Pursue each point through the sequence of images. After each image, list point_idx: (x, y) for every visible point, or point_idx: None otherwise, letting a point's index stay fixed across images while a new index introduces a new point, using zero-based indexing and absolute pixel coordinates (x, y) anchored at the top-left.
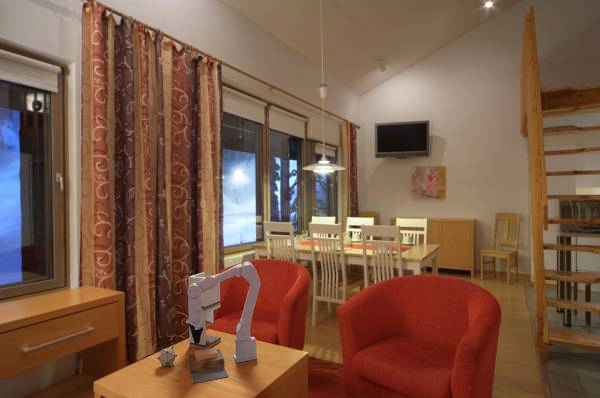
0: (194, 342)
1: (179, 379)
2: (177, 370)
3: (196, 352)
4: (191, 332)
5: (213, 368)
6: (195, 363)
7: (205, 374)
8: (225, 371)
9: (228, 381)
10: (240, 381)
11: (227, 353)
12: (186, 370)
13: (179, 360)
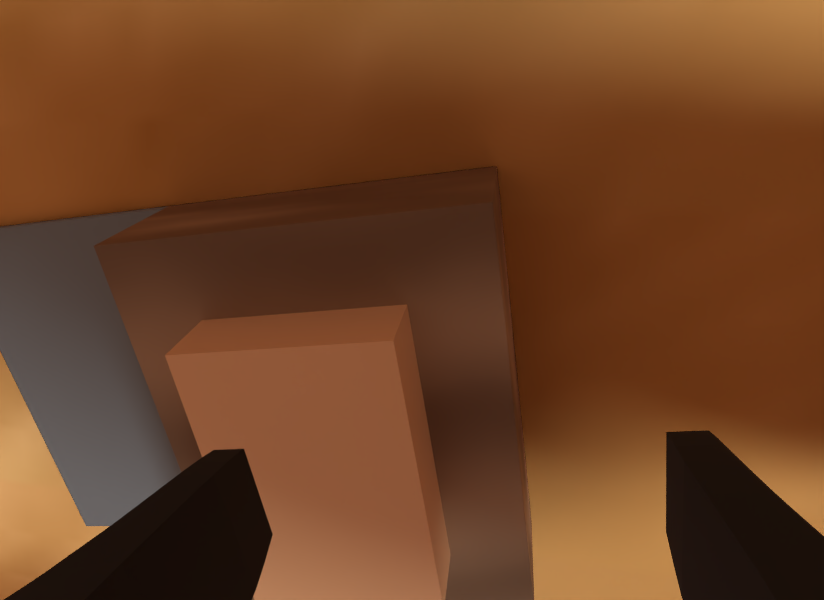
0: (180, 473)
1: (38, 62)
2: (290, 6)
3: (320, 363)
4: (730, 537)
5: None
6: (123, 305)
7: (126, 356)
8: None
9: (19, 509)
10: (23, 577)
11: (608, 594)
12: (269, 142)
13: (653, 4)
